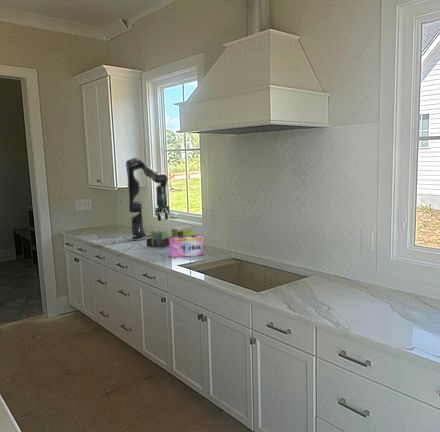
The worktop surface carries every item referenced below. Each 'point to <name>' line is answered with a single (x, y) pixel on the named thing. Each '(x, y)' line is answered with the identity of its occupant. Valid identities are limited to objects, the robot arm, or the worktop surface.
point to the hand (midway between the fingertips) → (163, 220)
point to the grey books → (158, 239)
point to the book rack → (149, 243)
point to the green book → (164, 235)
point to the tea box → (182, 231)
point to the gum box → (186, 245)
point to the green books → (154, 235)
